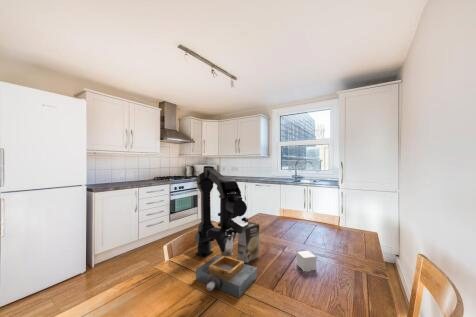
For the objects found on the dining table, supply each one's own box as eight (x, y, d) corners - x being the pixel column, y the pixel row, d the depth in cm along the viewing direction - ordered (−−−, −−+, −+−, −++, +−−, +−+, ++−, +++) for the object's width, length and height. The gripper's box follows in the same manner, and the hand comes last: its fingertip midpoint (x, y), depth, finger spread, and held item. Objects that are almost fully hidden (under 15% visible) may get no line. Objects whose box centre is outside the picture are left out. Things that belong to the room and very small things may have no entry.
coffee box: (246, 263, 91) (247, 228, 91) (237, 258, 96) (237, 225, 96) (259, 257, 97) (259, 224, 98) (249, 252, 102) (250, 221, 102)
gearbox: (217, 264, 90) (217, 250, 90) (257, 278, 80) (257, 262, 80) (188, 285, 75) (188, 268, 75) (232, 305, 64) (232, 286, 64)
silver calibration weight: (225, 249, 83) (225, 228, 83) (237, 253, 80) (237, 231, 80) (218, 254, 78) (218, 231, 79) (230, 258, 75) (230, 234, 75)
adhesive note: (316, 270, 86) (316, 256, 86) (303, 272, 84) (304, 258, 85) (308, 263, 92) (308, 250, 92) (296, 265, 90) (296, 251, 90)
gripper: (231, 219, 67) (230, 265, 67) (255, 208, 83) (255, 246, 83) (206, 214, 73) (205, 257, 73) (233, 205, 89) (233, 240, 89)
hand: (226, 249), depth 79 cm, fingers closed on silver calibration weight, 5 cm apart
